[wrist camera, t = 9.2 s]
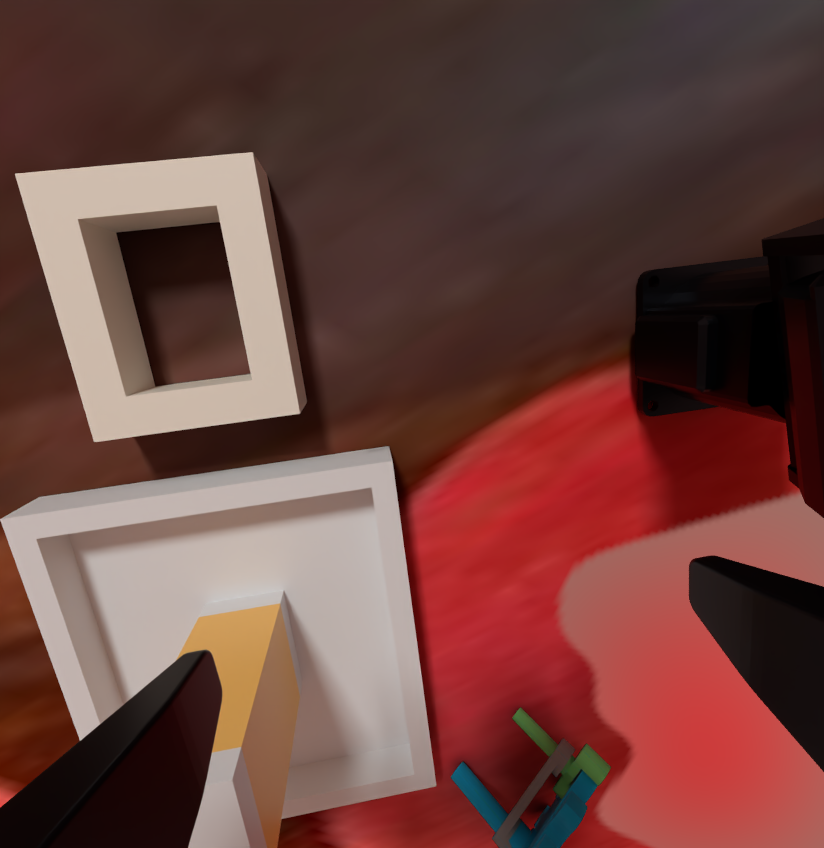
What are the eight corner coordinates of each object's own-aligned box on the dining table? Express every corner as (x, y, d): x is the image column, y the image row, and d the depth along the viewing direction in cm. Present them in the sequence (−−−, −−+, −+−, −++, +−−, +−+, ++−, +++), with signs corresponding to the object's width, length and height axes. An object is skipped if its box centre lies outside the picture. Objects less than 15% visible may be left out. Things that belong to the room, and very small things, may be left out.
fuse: (283, 590, 21) (232, 780, 13) (302, 680, 22) (267, 910, 14) (206, 603, 21) (98, 806, 12) (229, 693, 22) (145, 938, 13)
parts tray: (388, 445, 21) (392, 460, 19) (429, 745, 25) (436, 786, 23) (39, 497, 20) (0, 519, 17) (142, 804, 24) (120, 852, 21)
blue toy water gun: (511, 908, 26) (451, 1055, 18) (436, 810, 29) (354, 895, 21) (625, 747, 26) (620, 816, 18) (538, 667, 29) (499, 693, 21)
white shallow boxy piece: (267, 174, 18) (252, 152, 15) (307, 402, 20) (299, 413, 17) (63, 194, 17) (14, 173, 15) (127, 426, 19) (94, 442, 17)
